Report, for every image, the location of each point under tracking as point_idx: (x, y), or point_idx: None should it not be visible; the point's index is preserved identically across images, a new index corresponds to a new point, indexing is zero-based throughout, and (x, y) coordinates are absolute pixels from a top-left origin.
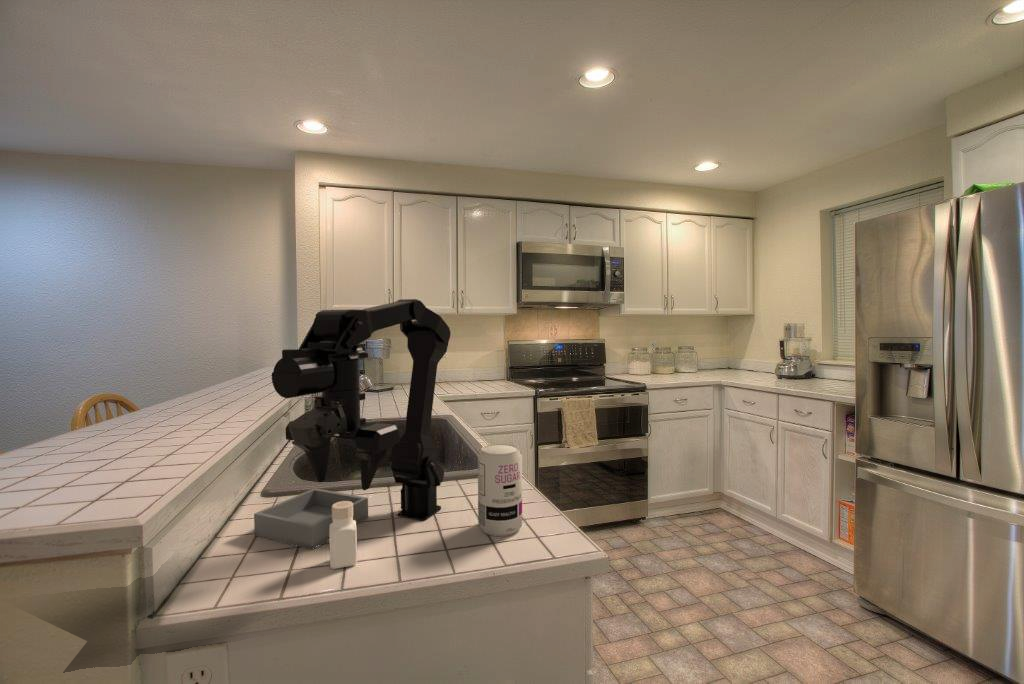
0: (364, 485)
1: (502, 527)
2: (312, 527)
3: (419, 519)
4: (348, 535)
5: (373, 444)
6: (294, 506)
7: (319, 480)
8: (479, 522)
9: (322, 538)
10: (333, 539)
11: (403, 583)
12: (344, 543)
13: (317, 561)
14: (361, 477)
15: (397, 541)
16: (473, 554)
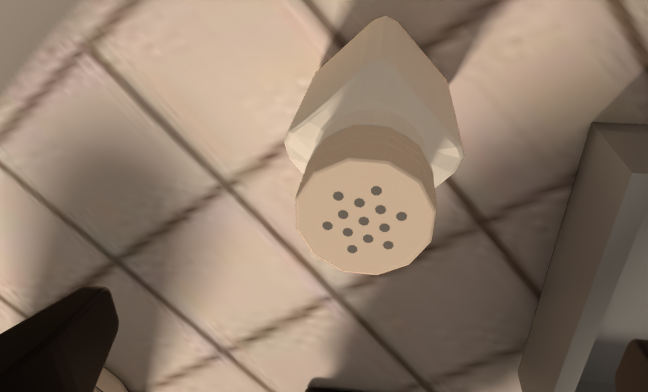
0: (47, 308)
1: None
2: (628, 174)
3: (323, 389)
4: (307, 107)
5: None
6: None
7: (640, 350)
8: (97, 388)
9: (583, 187)
10: (366, 55)
11: (67, 40)
12: (326, 80)
13: (501, 51)
14: (5, 362)
15: (297, 265)
16: (28, 258)
